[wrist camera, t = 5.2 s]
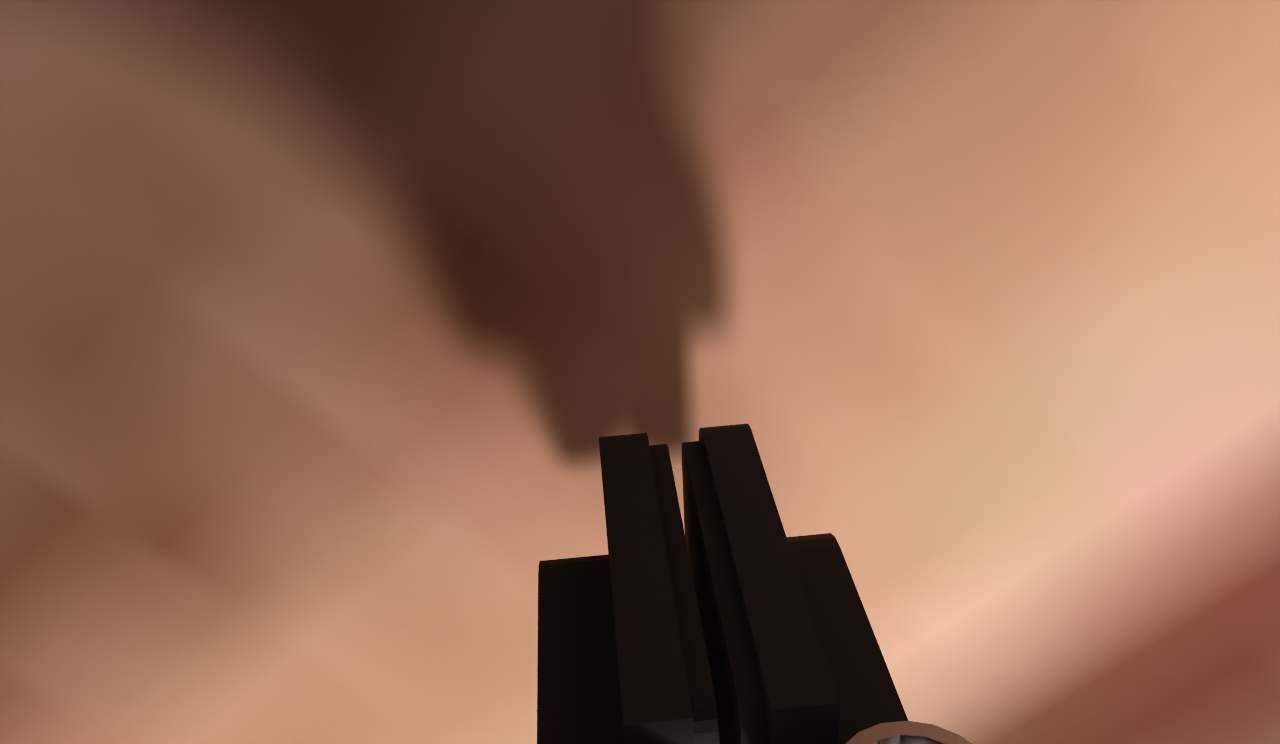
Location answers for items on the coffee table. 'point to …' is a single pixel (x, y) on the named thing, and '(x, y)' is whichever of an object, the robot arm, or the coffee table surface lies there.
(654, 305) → the coffee table surface
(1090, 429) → the coffee table surface
